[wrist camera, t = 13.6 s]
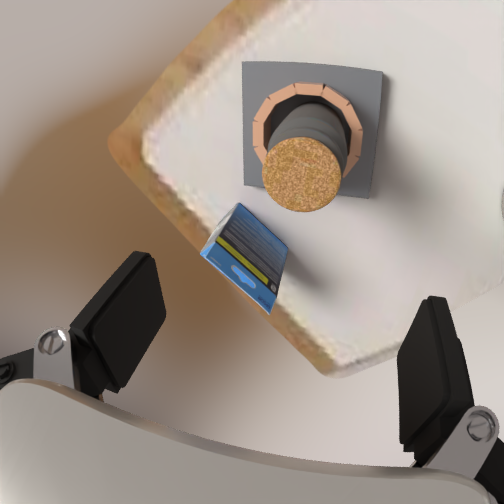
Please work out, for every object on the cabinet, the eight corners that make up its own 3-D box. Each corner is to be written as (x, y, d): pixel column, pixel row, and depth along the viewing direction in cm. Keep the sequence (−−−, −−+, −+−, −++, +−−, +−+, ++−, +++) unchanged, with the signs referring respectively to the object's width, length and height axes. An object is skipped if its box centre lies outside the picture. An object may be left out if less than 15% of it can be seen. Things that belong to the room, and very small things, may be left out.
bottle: (276, 139, 32) (237, 193, 20) (301, 91, 28) (278, 110, 16) (326, 165, 32) (320, 236, 20) (353, 119, 29) (370, 161, 16)
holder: (380, 71, 26) (389, 72, 22) (367, 193, 34) (372, 215, 30) (245, 61, 29) (230, 61, 24) (247, 180, 37) (234, 199, 32)
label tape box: (220, 218, 41) (181, 277, 31) (240, 199, 38) (205, 255, 28) (269, 263, 43) (247, 330, 33) (291, 246, 40) (274, 314, 30)
